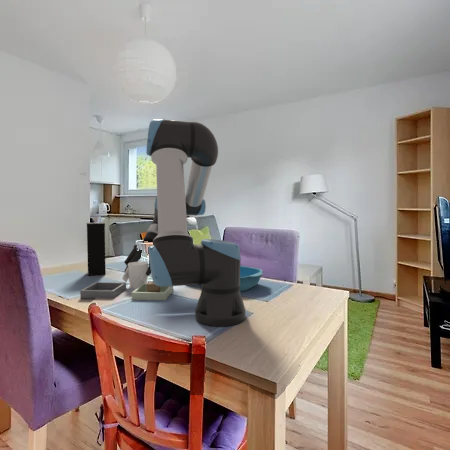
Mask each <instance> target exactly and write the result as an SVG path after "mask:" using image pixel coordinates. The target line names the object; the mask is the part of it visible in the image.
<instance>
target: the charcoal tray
mask: <svg viewBox="0 0 450 450" xmlns="http://www.w3.org/2000/svg"><path fill="white" fill-rule="evenodd" d="M126 289H127V282H111V281H110V282H109V281H104V282H103V281H96V282H94V283H92V284H89V285H88V286H87V287H84V288H82V289H80V292H79V293H80V300H95V299H97V298H99V299H115V298H116V297H117V296H118V295H119V294H121V293H122V292H124V291H125V290H126Z"/></svg>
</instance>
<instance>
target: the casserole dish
mask: <svg viewBox="0 0 450 450" xmlns="http://www.w3.org/2000/svg"><path fill="white" fill-rule="evenodd" d="M263 272H264V271H263V269H262V268H258V267H251V266H247V265H245V266H244V265H240V293H241V292H244V291H246V290H249V289H251V288H254V287H255V286H257V285H258V283H259V281H260V280H261V277H262V276H263V275H264V273H263Z"/></svg>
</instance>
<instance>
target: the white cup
mask: <svg viewBox="0 0 450 450" xmlns="http://www.w3.org/2000/svg"><path fill="white" fill-rule="evenodd" d="M146 266H148V267H149V262H148V261H138V262H131V263H128V275H129V278H128V282H129V283H128V284H129V288H130V289H134V290H136V289H137V288H138V287H139V286H141V285H142V284H143V283H142V282H141V280H140V279H141V277H142V275H143V273H144V270H145V268H146ZM147 282H148V278H147V279H146V282H145V284H147Z"/></svg>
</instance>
